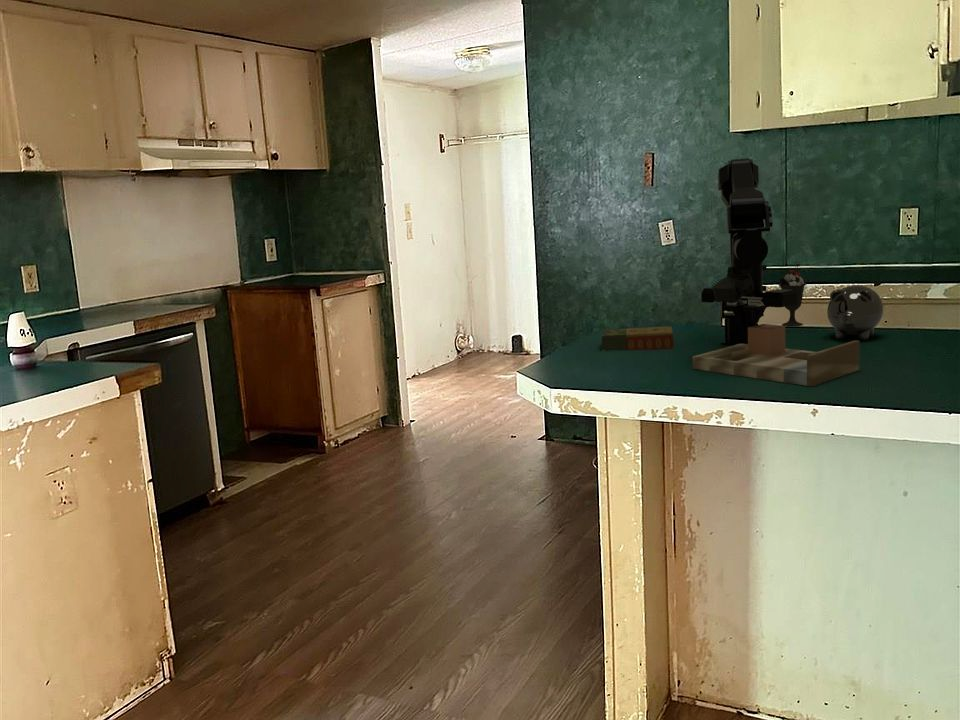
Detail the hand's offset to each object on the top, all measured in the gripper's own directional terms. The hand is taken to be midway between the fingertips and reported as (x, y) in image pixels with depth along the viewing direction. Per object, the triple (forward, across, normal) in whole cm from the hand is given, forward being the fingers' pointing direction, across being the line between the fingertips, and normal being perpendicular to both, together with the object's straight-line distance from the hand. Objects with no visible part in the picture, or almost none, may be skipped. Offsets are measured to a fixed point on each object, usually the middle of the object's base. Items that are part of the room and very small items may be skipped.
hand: (747, 338), depth 166 cm
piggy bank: (+5, +4, +34) cm, 34 cm away
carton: (+5, -30, 0) cm, 30 cm away
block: (+2, +4, 0) cm, 5 cm away
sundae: (+5, -16, +42) cm, 45 cm away
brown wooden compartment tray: (+5, +8, -3) cm, 10 cm away
